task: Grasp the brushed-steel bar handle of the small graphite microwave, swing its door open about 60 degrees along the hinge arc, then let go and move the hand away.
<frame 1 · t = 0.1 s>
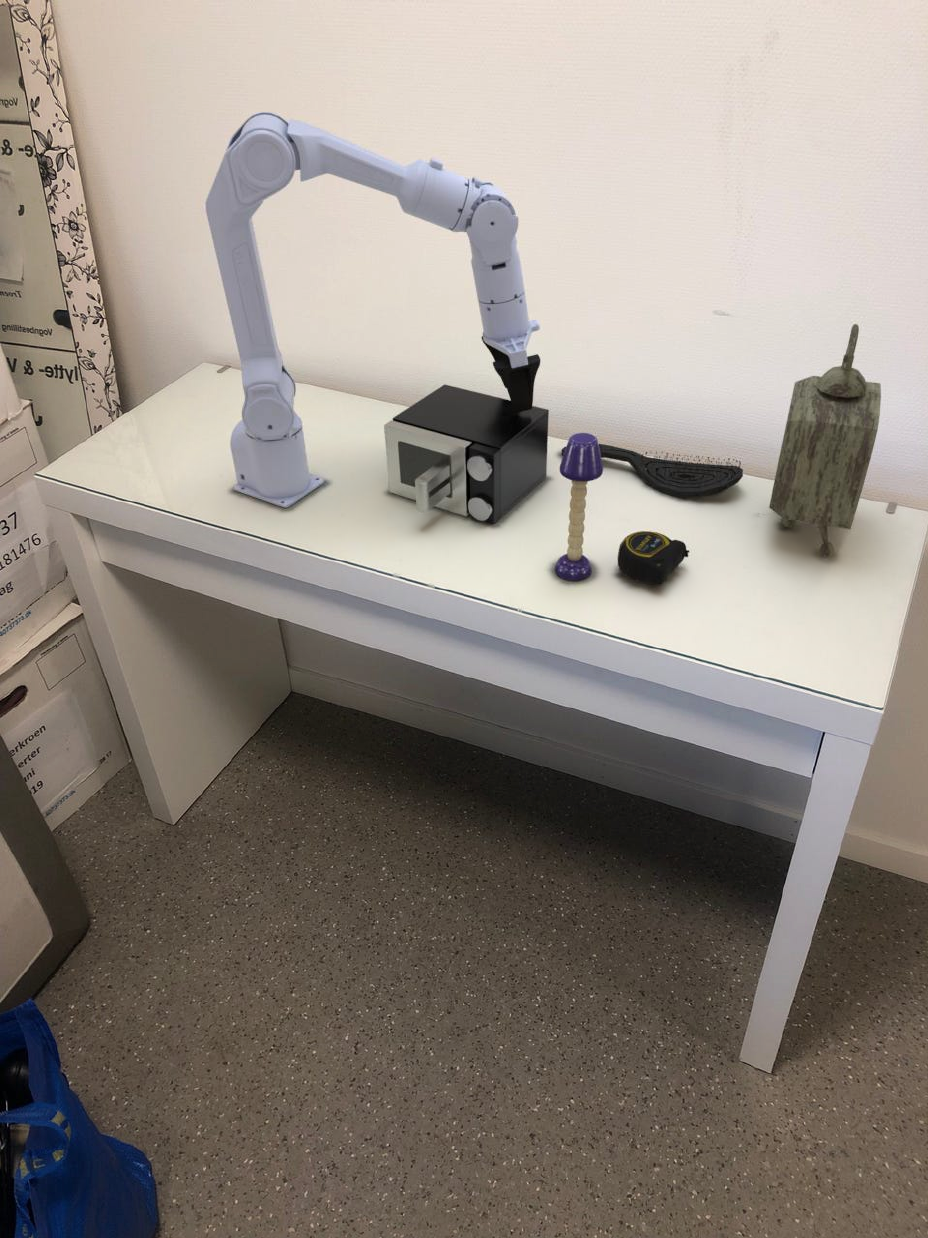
hand: (517, 397, 119), 11 cm above the table, tool pointing down, fingers open, 7 cm apart
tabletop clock: (803, 530, 112), on the table
hairbrush: (646, 475, 124), on the table
toy lamp: (574, 570, 107), on the table
microwave door: (415, 478, 114), point 5 cm above the table, hinge at 0.0°
tape measure: (652, 573, 106), on the table
microwave: (472, 482, 123), on the table
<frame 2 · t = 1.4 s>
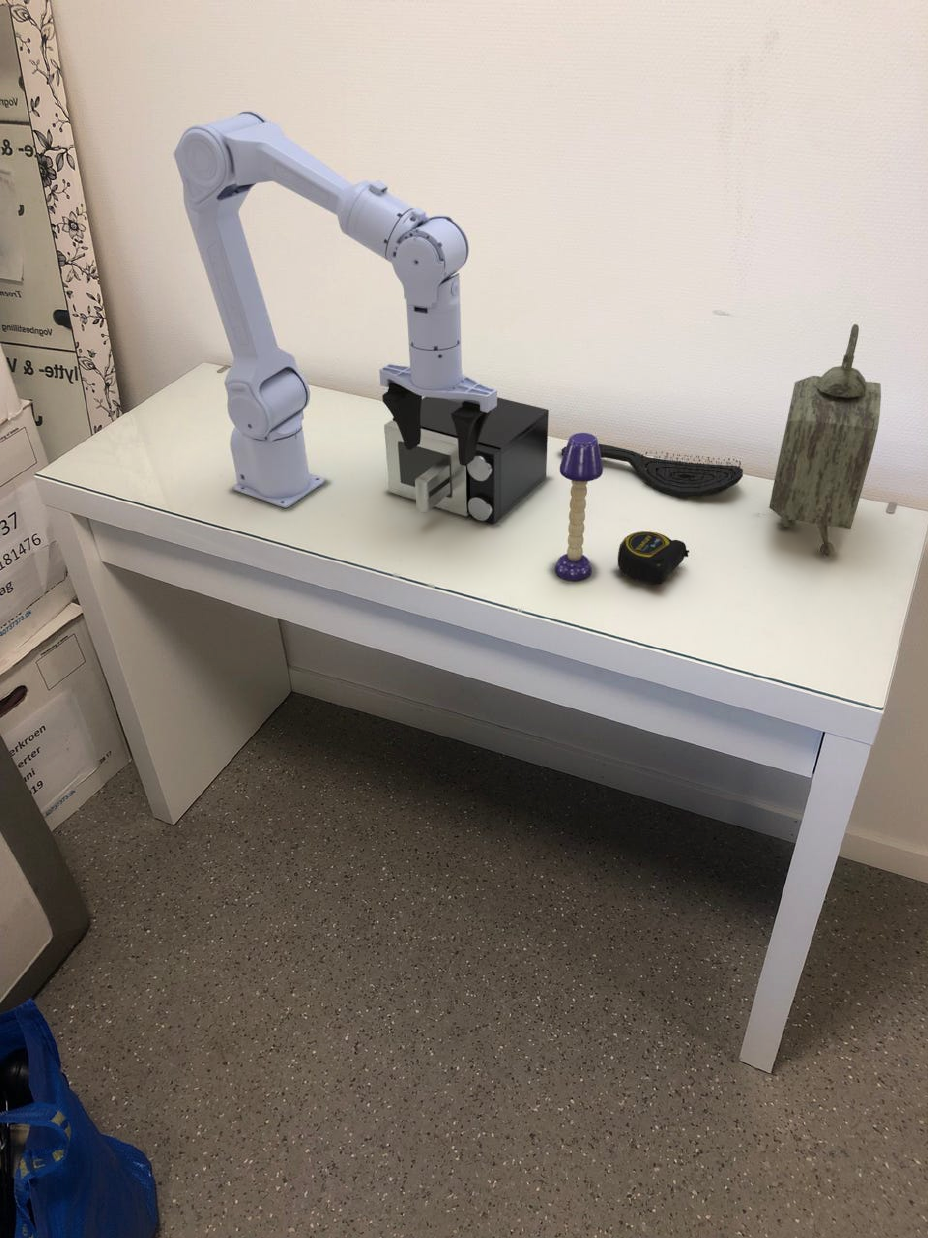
hand: (439, 453, 107), 10 cm above the table, tool pointing down, fingers open, 7 cm apart
nothing on the table moved.
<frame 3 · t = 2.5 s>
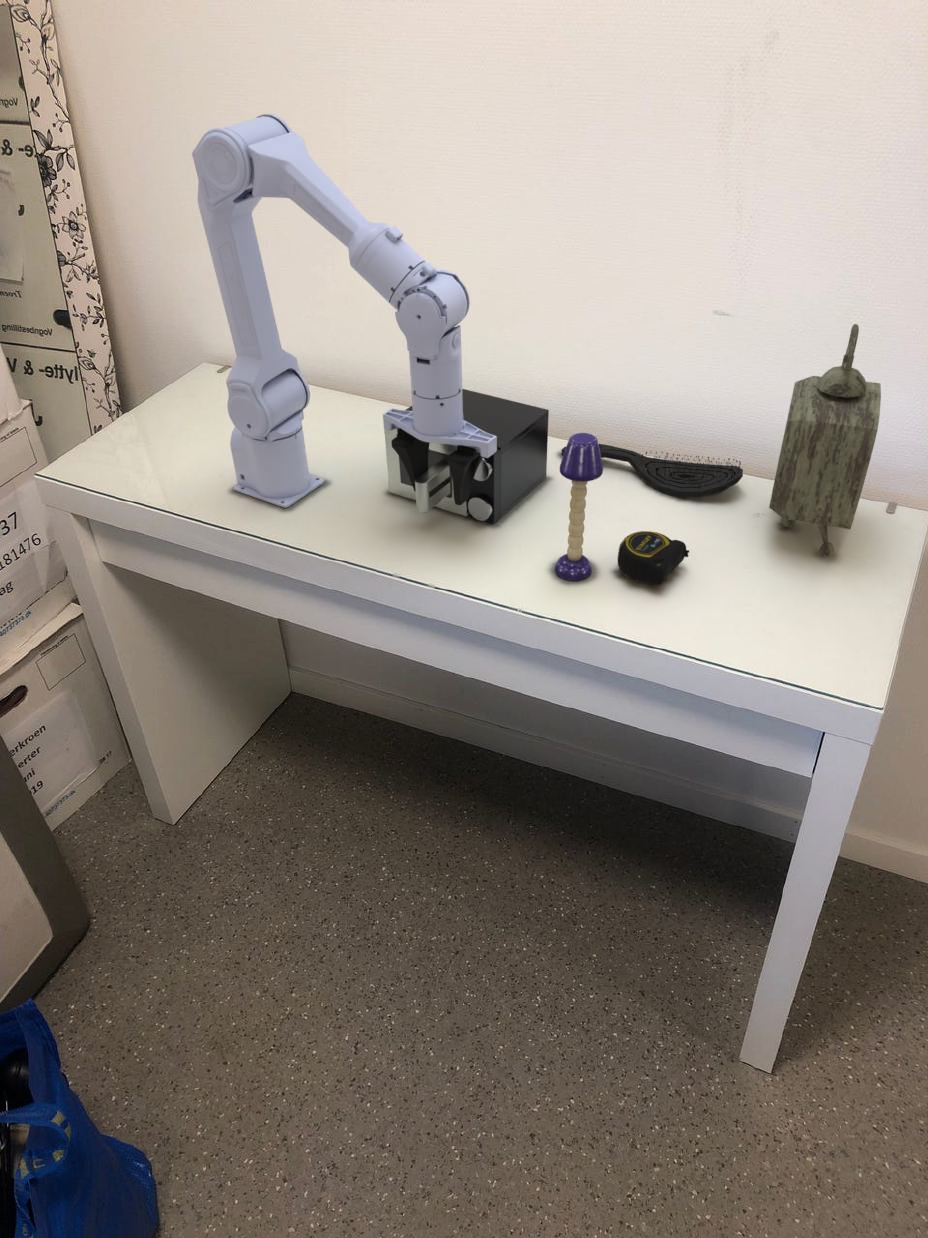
hand: (441, 494, 111), 5 cm above the table, tool pointing down, fingers open, 5 cm apart
microwave door: (415, 478, 114), point 5 cm above the table, hinge at 0.0°, touching gripper
everything else where it was.
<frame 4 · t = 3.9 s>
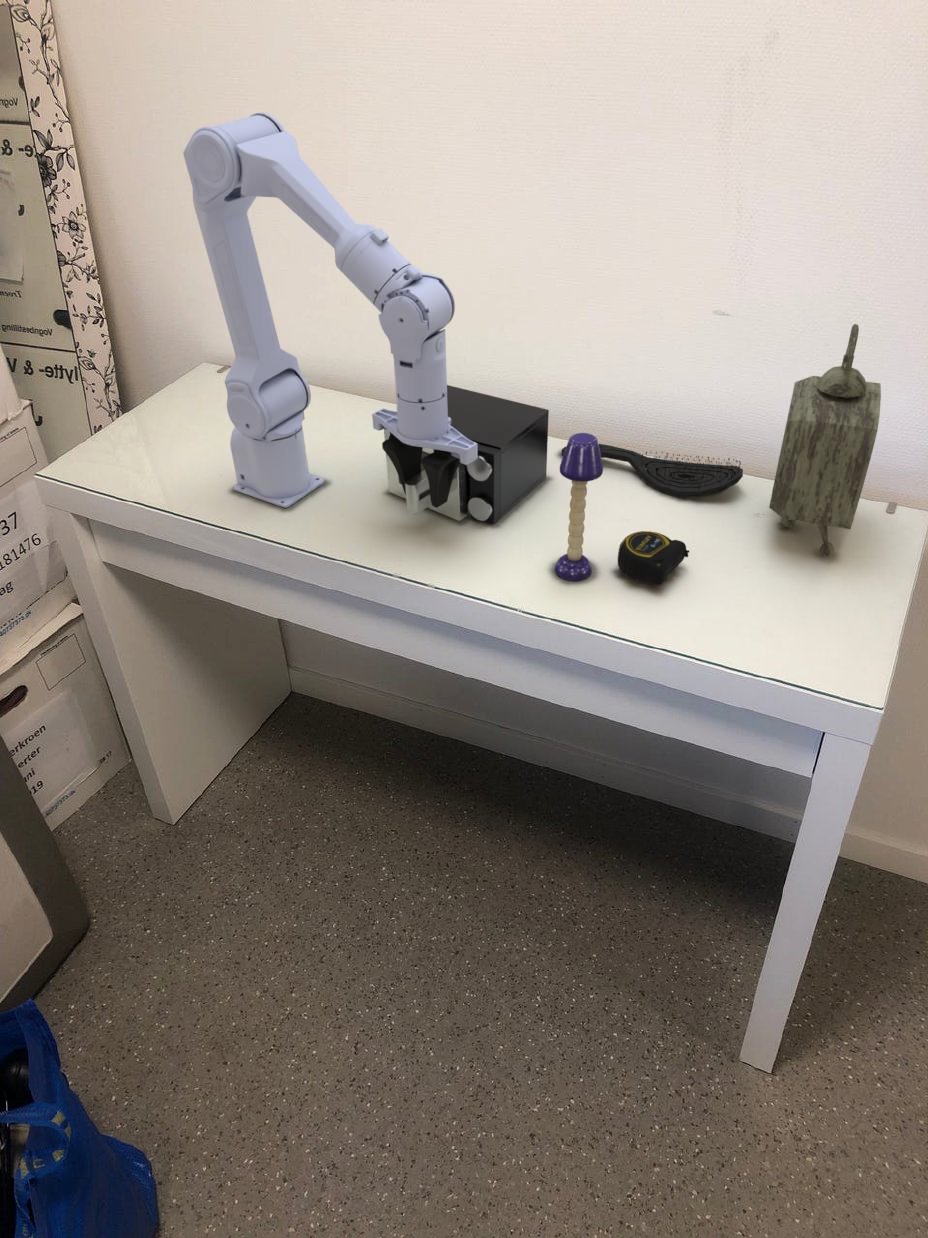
hand: (426, 497, 111), 5 cm above the table, tool pointing down, fingers open, 4 cm apart
microwave door: (410, 479, 114), point 5 cm above the table, hinge at 6.6°, touching gripper
everything else where it was.
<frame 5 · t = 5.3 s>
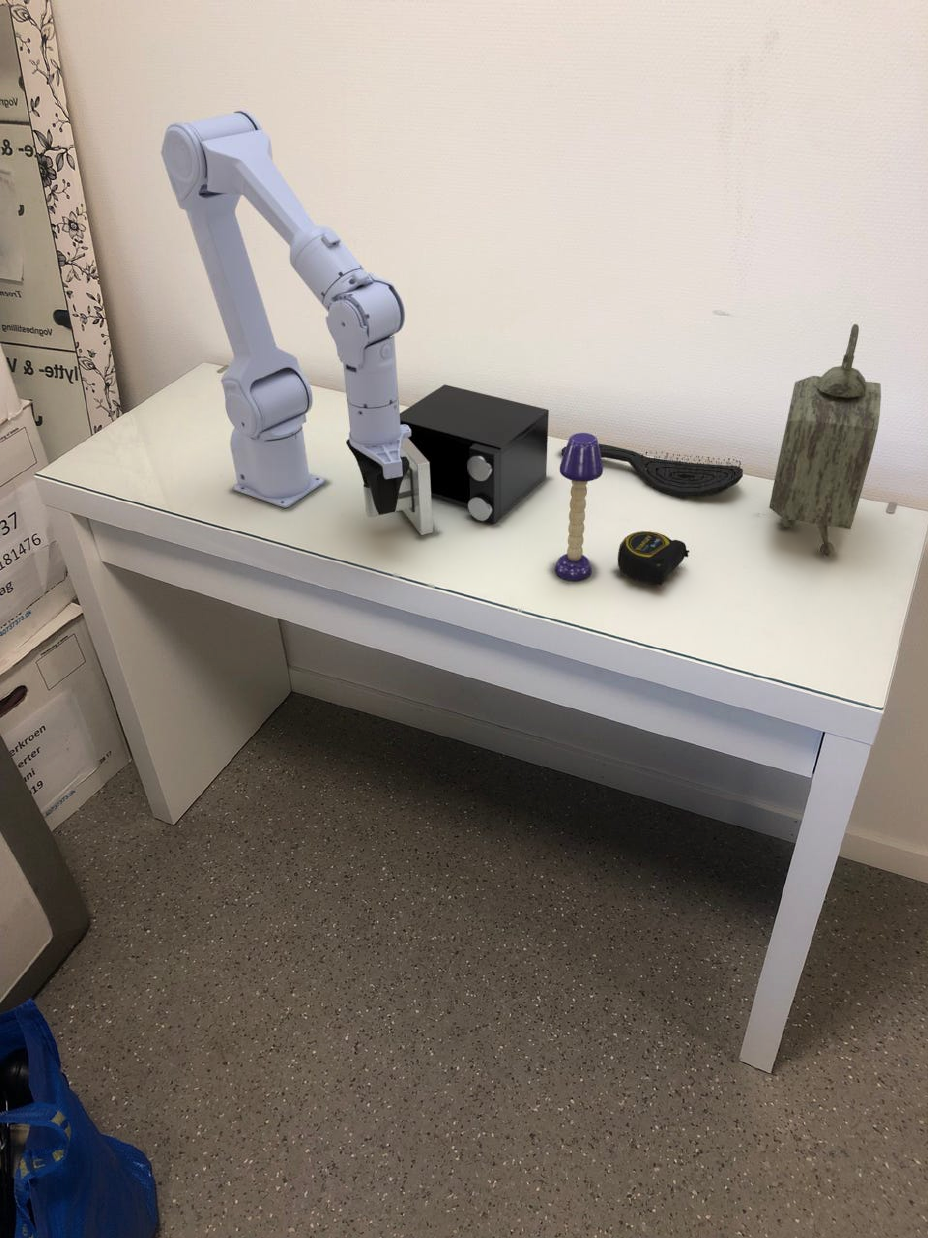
hand: (381, 503, 110), 5 cm above the table, tool pointing down, fingers open, 4 cm apart
microwave door: (385, 482, 113), point 5 cm above the table, hinge at 33.3°, touching gripper
everything else where it was.
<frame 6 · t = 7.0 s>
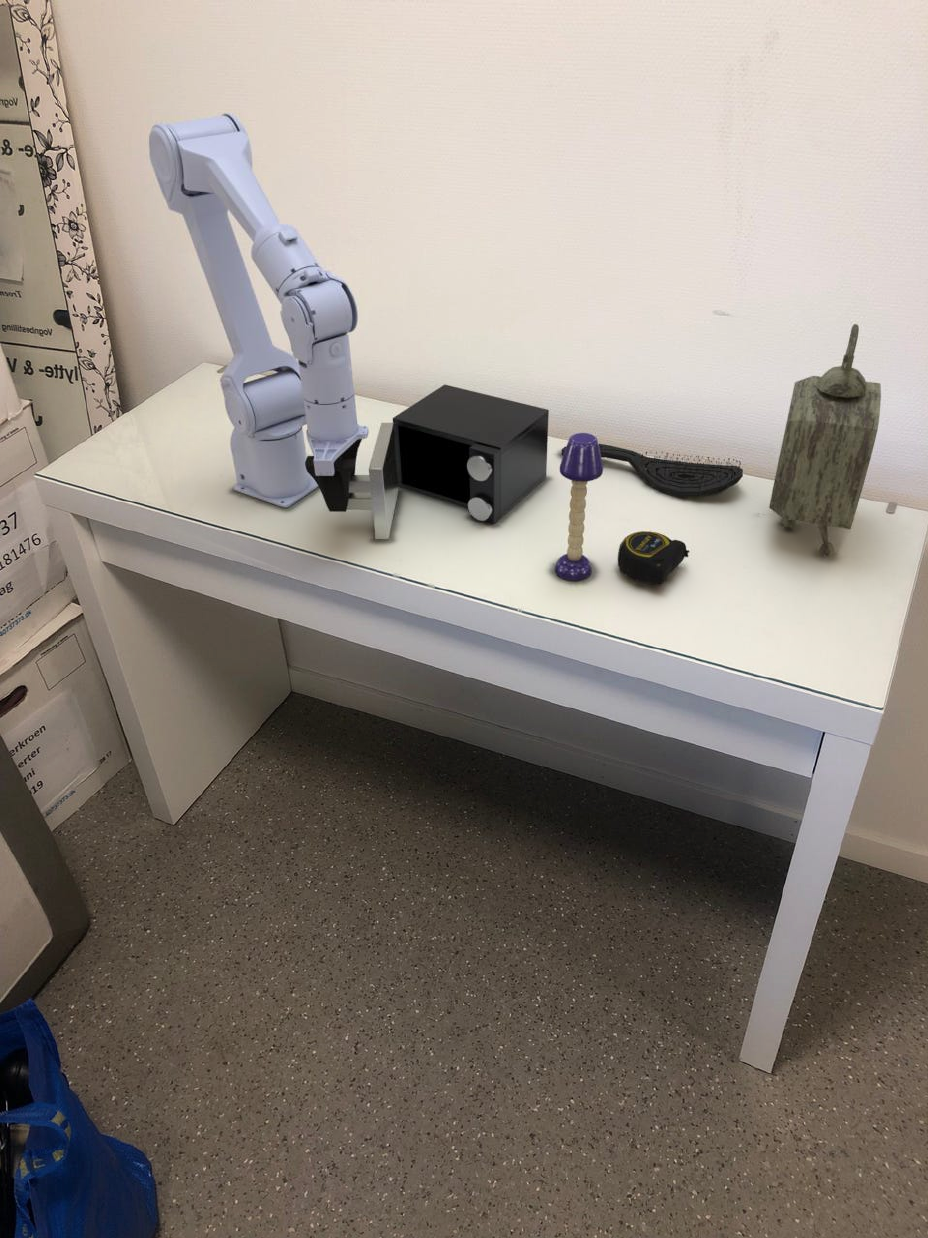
hand: (341, 499, 111), 5 cm above the table, tool pointing down, fingers open, 4 cm apart
microwave door: (361, 479, 114), point 5 cm above the table, hinge at 60.2°, touching gripper
everything else where it was.
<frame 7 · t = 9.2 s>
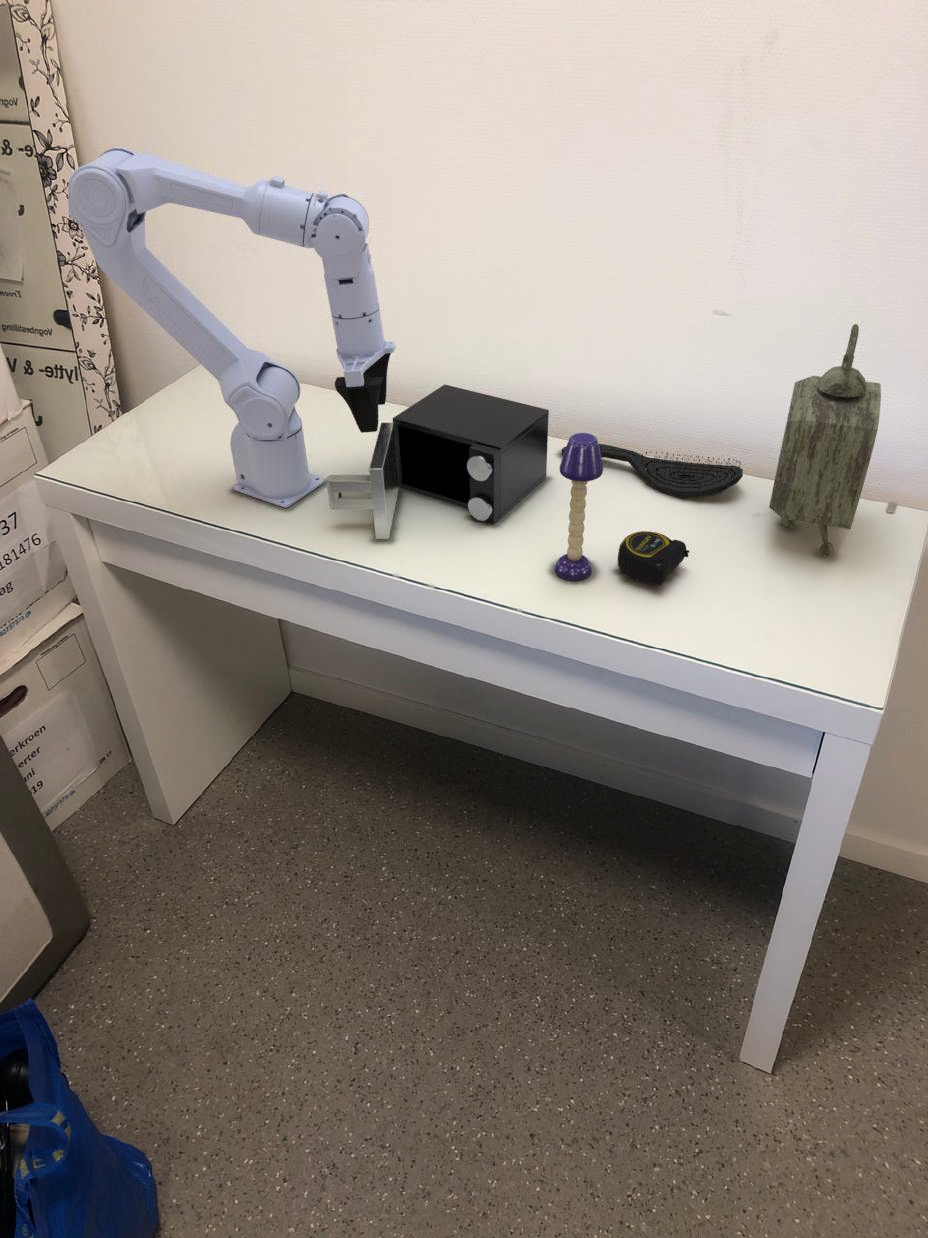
hand: (373, 417, 116), 10 cm above the table, tool pointing down, fingers open, 7 cm apart
microwave door: (361, 479, 114), point 5 cm above the table, hinge at 60.0°
everything else where it was.
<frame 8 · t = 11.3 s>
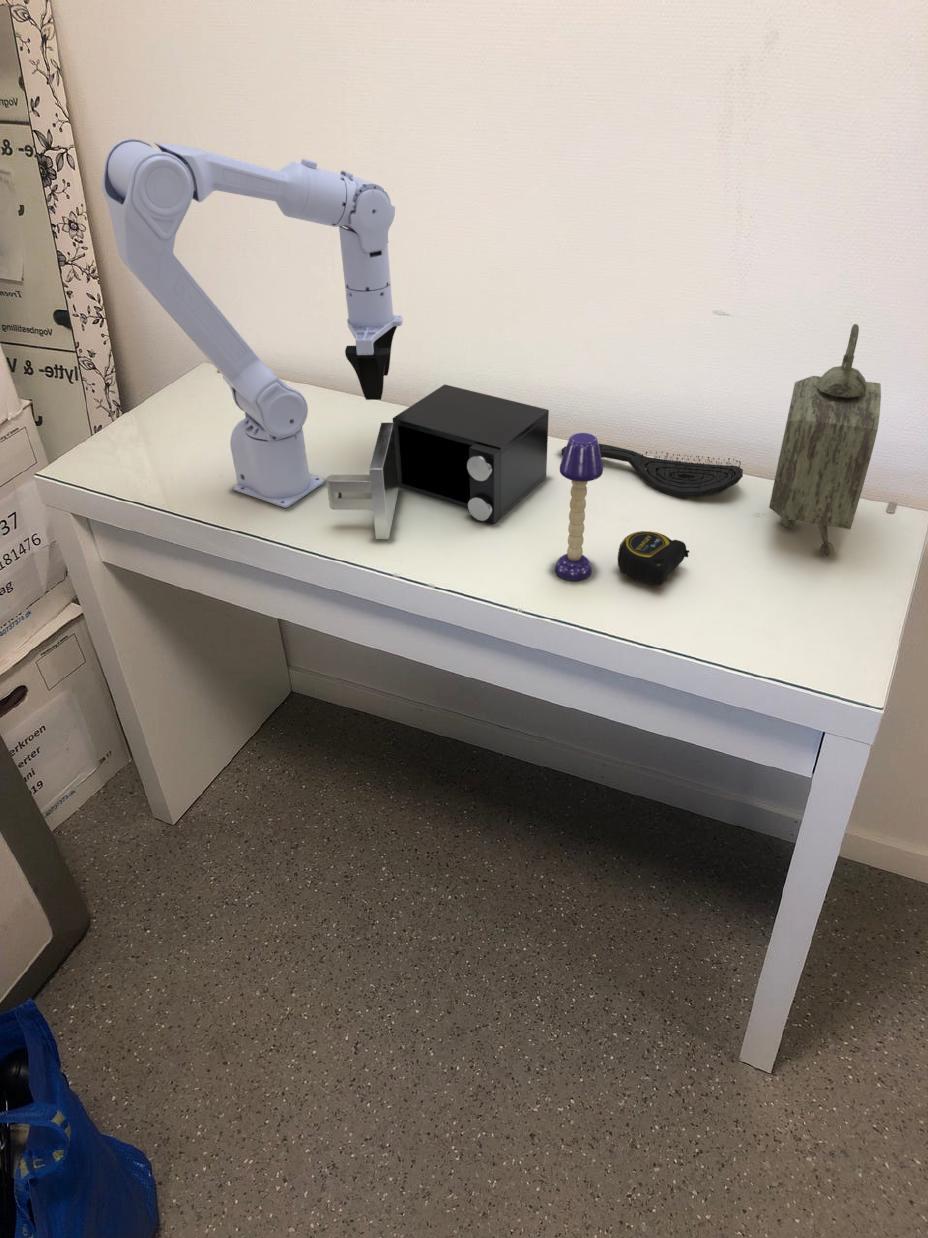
hand: (377, 386, 123), 10 cm above the table, tool pointing down, fingers open, 7 cm apart
nothing on the table moved.
at the end: microwave door at +60° (first picture: +0°); the gripper is holding nothing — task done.
